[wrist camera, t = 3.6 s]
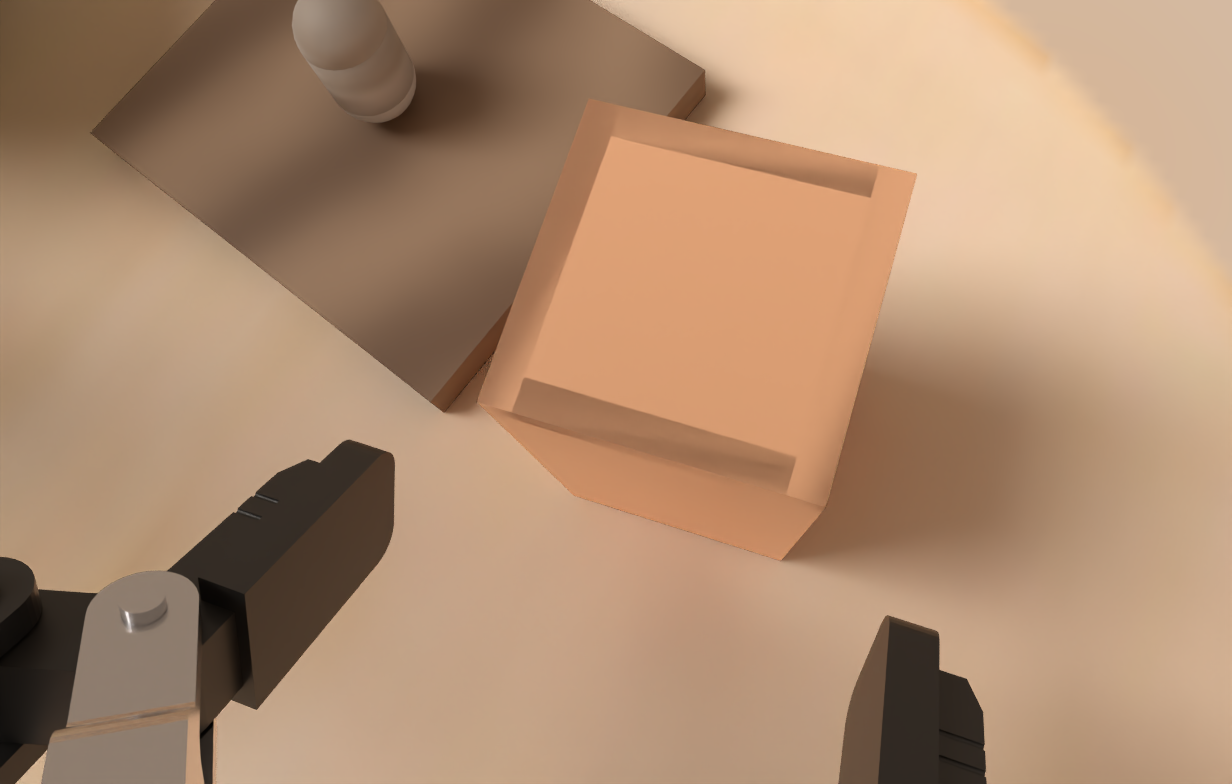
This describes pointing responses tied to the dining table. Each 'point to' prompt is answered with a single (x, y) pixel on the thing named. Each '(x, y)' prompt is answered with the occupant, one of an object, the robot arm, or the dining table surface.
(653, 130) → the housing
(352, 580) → the robot arm
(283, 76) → the plate
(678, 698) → the dining table surface
